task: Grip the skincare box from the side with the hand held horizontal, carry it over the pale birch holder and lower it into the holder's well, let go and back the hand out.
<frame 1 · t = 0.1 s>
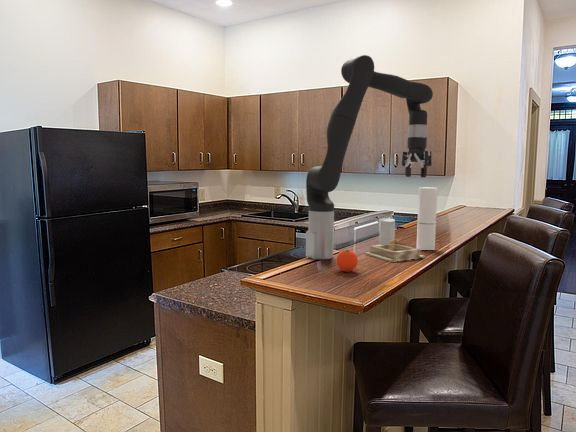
hand: (415, 177, 184), 29 cm above the table, tool pointing down, fingers open, 8 cm apart
skincare box: (386, 250, 182), on the table
clementine: (346, 271, 145), on the table
cylindrical container: (425, 249, 184), on the table
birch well: (394, 256, 169), on the table
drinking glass: (386, 241, 202), on the table
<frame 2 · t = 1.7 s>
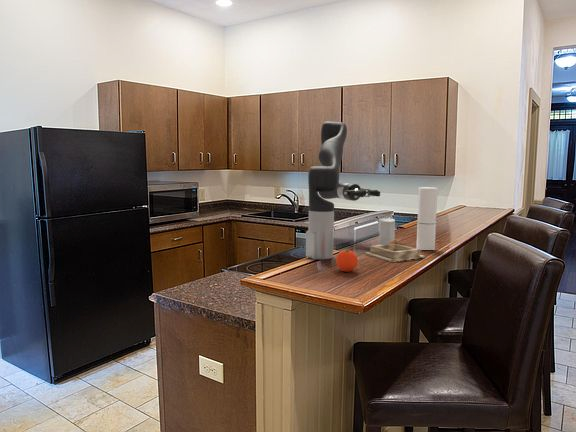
hand: (371, 194, 189), 22 cm above the table, tool horizontal, fingers open, 8 cm apart
nothing on the table moved.
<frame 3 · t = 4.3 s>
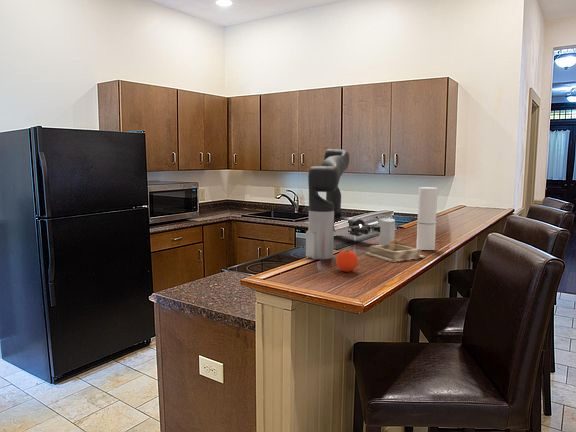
hand: (376, 231, 187), 7 cm above the table, tool horizontal, fingers open, 8 cm apart
nothing on the table moved.
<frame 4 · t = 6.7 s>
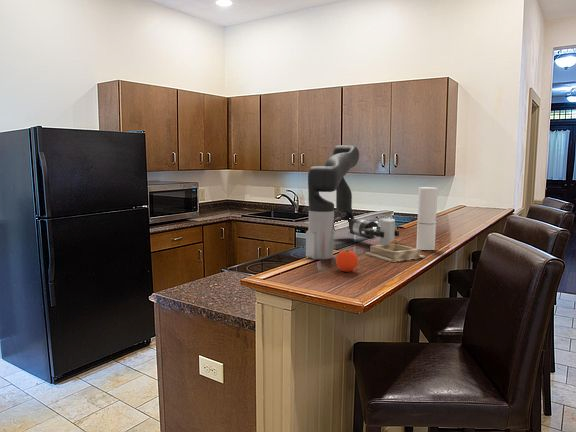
hand: (391, 234, 179), 7 cm above the table, tool horizontal, fingers closed on skincare box, 7 cm apart
skincare box: (386, 250, 182), on the table, touching gripper
everything else where it was.
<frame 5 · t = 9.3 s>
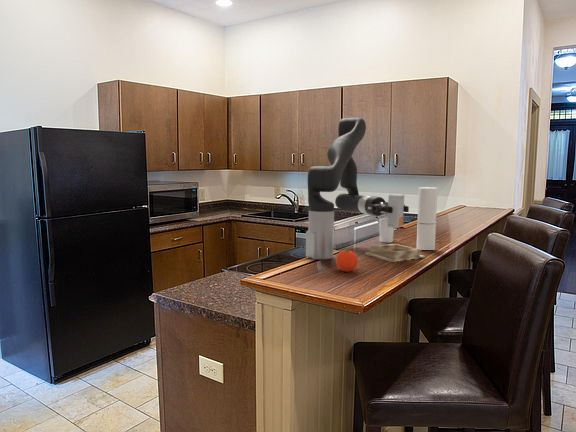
hand: (399, 209, 165), 18 cm above the table, tool horizontal, fingers closed on skincare box, 7 cm apart
skincare box: (395, 227, 168), point 11 cm above the table, touching gripper
everything else where it was.
when the fingers open (9 cm above the table, at t = 12.1 s): skincare box drops 1 cm, resting on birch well.
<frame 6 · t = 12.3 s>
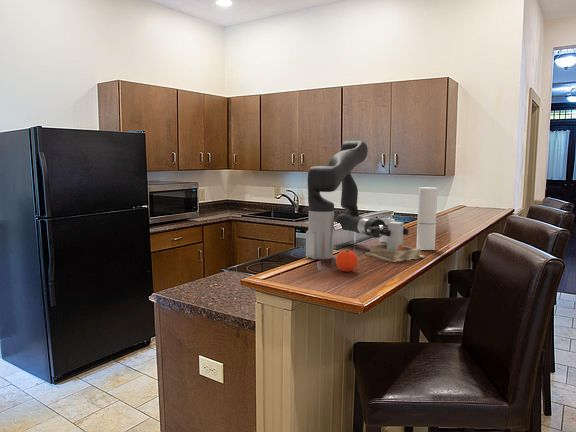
hand: (398, 232, 166), 9 cm above the table, tool horizontal, fingers open, 8 cm apart
skincare box: (394, 254, 169), point 1 cm above the table, touching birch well
everything else where it was.
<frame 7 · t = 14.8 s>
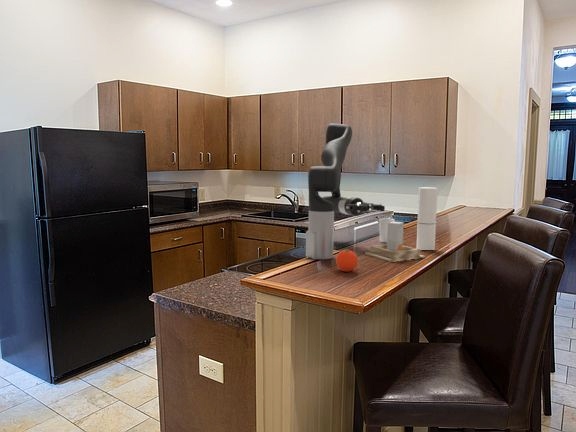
hand: (375, 208, 177), 17 cm above the table, tool horizontal, fingers open, 8 cm apart
nothing on the table moved.
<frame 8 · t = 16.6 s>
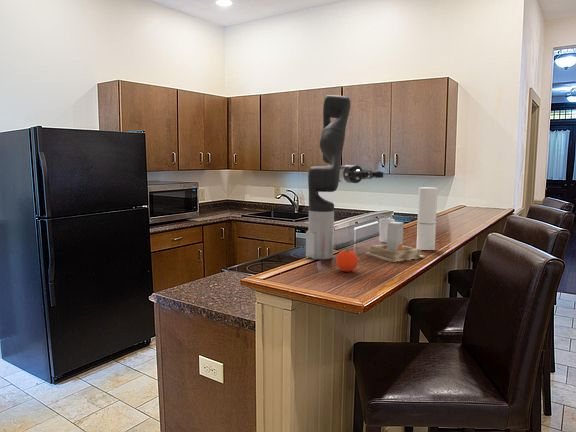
hand: (374, 175, 177), 30 cm above the table, tool horizontal, fingers open, 8 cm apart
nothing on the table moved.
at the end: skincare box inside the target area on the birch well (0.3 cm from its centre), point 0.6 cm above the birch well's base; skincare box tilted 0°; the gripper is holding nothing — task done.
